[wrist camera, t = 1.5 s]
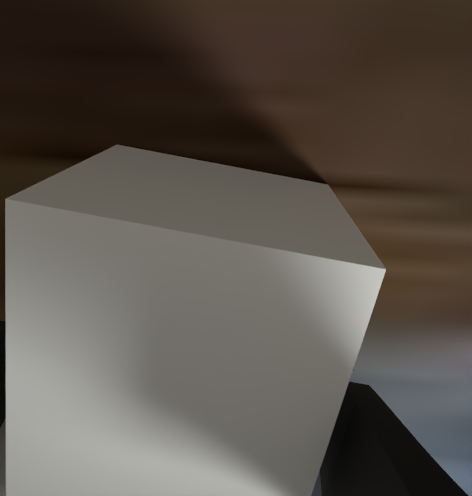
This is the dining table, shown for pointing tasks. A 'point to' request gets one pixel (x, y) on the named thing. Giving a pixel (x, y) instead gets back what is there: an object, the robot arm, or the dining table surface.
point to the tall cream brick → (178, 328)
